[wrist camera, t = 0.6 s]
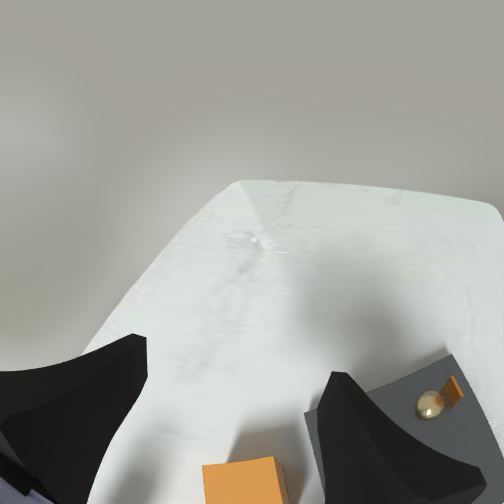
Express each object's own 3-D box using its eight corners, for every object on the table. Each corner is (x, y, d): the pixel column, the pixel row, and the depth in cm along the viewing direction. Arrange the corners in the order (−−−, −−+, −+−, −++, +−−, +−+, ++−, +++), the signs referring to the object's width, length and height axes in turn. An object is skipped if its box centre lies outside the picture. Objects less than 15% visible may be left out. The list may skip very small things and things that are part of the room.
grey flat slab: (502, 496, 9) (526, 488, 6) (344, 576, 9) (347, 588, 6) (444, 365, 23) (457, 343, 21) (305, 420, 24) (302, 405, 21)
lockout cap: (292, 517, 16) (286, 520, 13) (228, 525, 16) (208, 527, 13) (281, 464, 20) (273, 456, 18) (221, 473, 21) (202, 465, 18)
